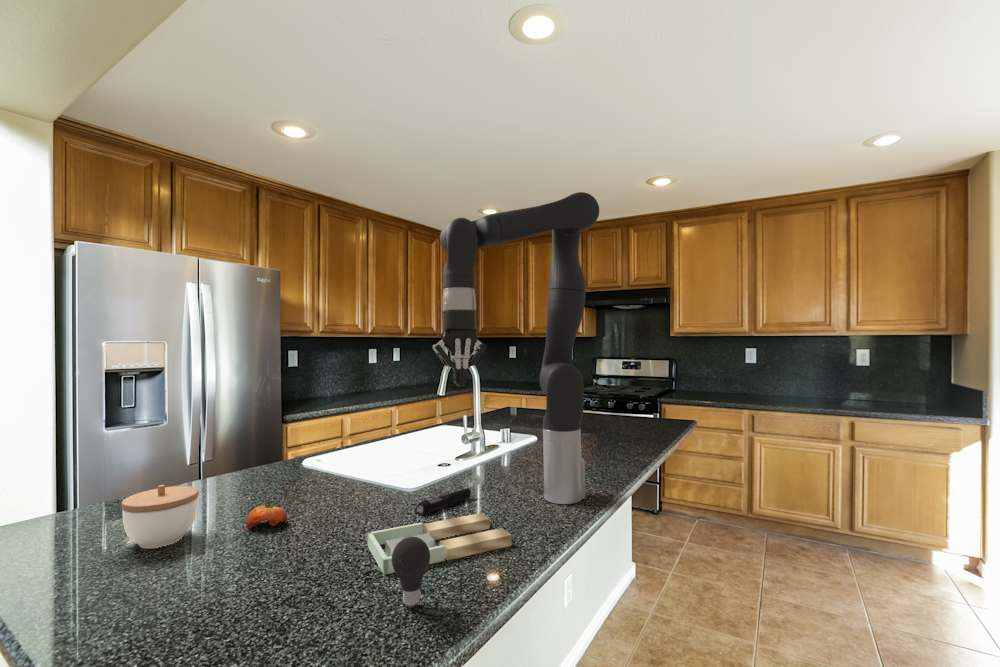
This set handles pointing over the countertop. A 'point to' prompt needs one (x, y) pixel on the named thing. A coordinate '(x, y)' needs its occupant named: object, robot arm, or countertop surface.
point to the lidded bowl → (160, 515)
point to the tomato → (266, 515)
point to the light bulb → (411, 567)
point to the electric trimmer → (442, 502)
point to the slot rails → (469, 542)
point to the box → (393, 533)
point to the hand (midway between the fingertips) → (460, 385)
